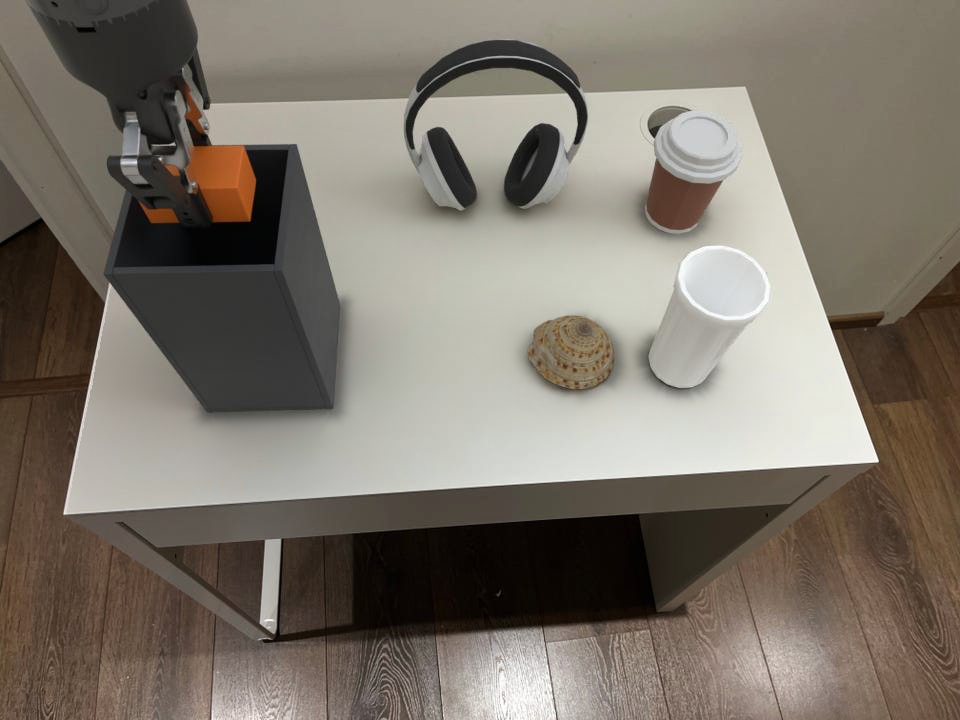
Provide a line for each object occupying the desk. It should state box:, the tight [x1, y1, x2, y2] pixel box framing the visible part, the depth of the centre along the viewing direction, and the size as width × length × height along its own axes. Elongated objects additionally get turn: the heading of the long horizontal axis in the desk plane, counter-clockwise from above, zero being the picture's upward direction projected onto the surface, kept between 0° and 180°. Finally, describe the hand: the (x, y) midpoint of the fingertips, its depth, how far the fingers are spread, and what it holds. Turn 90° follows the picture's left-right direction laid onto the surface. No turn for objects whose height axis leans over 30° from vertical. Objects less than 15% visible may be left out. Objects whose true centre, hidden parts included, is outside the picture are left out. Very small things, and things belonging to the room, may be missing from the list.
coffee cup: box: [644, 109, 743, 235], centre depth 76 cm, size 9×9×12 cm
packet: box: [139, 144, 256, 223], centre depth 49 cm, size 7×4×4 cm, turn 93°
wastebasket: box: [103, 143, 341, 413], centre depth 61 cm, size 12×12×23 cm
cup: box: [648, 245, 772, 389], centre depth 66 cm, size 8×8×14 cm
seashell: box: [527, 314, 615, 390], centre depth 71 cm, size 8×6×8 cm
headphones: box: [403, 38, 589, 211], centre depth 73 cm, size 19×8×20 cm, turn 95°
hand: (202, 199), depth 51 cm, fingers closed on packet, 4 cm apart
